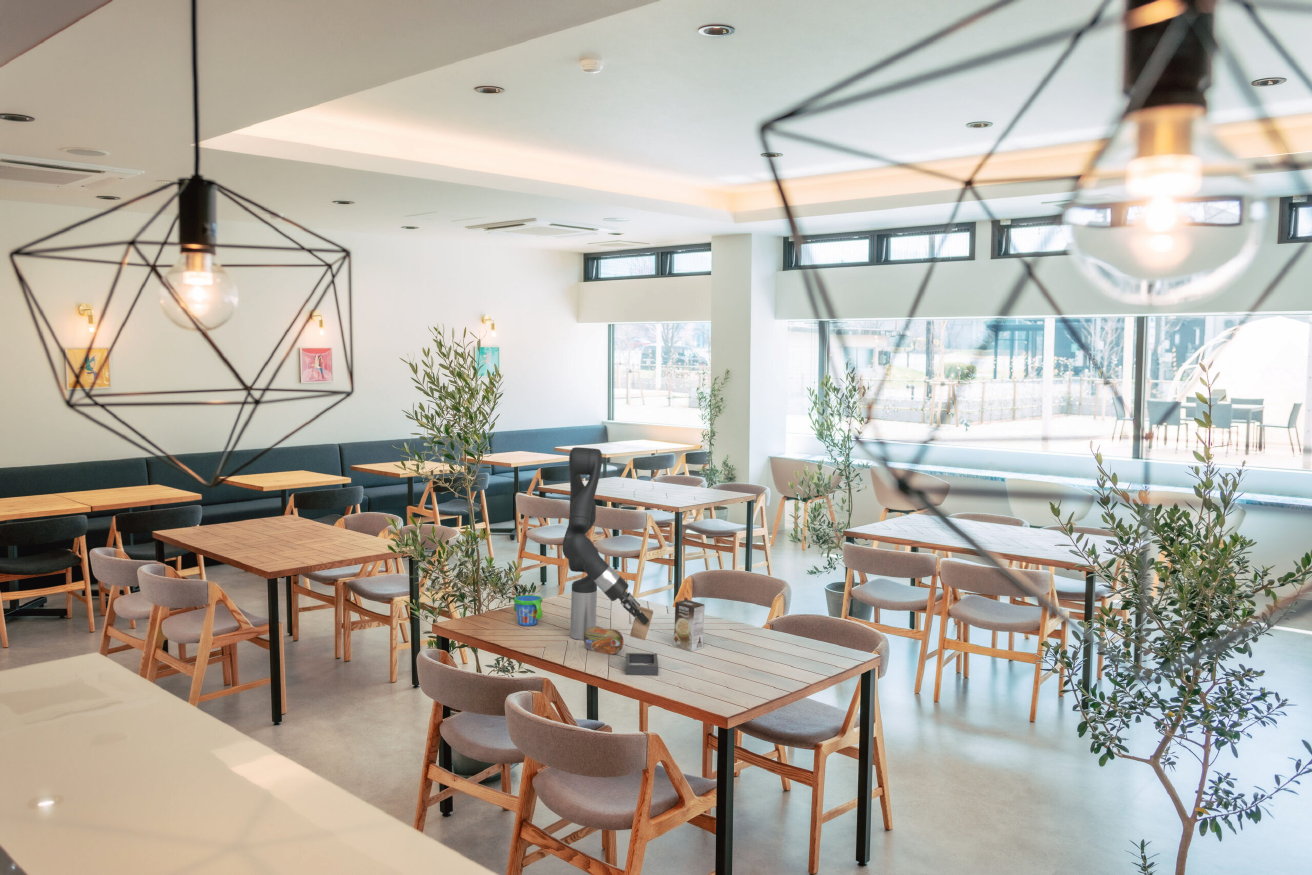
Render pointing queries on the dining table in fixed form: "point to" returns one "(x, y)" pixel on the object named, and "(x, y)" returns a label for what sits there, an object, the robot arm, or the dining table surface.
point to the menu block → (641, 624)
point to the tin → (603, 640)
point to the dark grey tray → (641, 668)
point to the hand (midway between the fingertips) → (646, 620)
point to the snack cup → (528, 609)
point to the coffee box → (689, 625)
